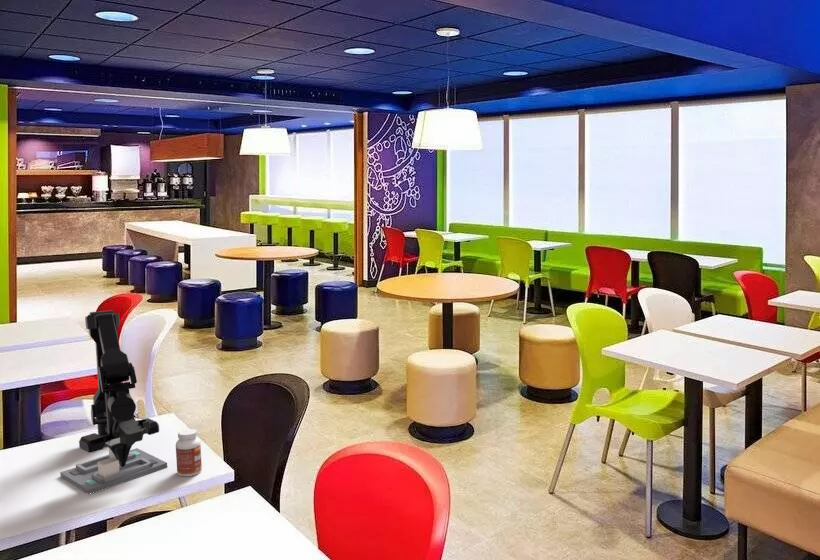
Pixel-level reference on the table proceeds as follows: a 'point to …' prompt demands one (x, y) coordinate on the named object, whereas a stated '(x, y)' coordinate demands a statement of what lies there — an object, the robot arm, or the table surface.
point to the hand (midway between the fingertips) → (122, 466)
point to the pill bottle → (188, 453)
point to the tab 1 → (108, 467)
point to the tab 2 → (111, 454)
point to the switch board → (135, 466)
